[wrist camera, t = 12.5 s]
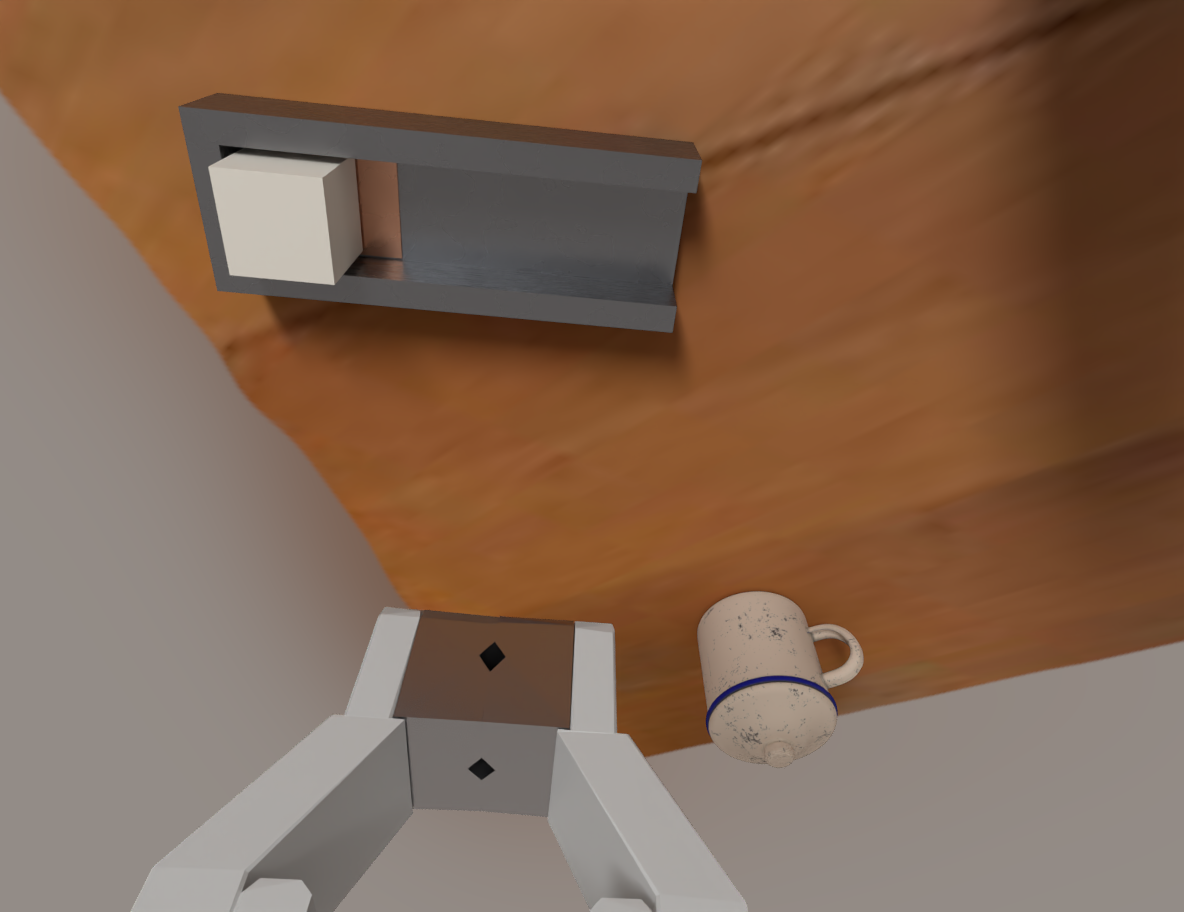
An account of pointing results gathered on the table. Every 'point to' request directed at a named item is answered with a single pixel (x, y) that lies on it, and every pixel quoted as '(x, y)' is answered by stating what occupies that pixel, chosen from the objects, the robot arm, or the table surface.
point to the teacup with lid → (768, 678)
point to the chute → (473, 210)
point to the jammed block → (287, 214)
